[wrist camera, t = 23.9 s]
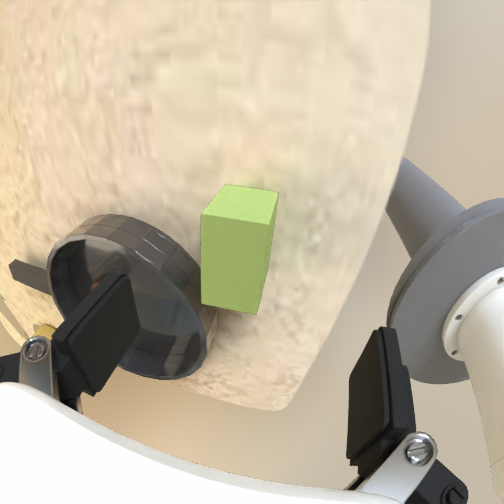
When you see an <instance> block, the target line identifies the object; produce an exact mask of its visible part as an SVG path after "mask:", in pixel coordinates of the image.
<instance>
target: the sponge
mask: <svg viewBox="0 0 504 504" xmlns="http://www.w3.org/2000/svg"><path fill="white" fill-rule="evenodd" d="M278 194H279V192H275V191H269V190H262V189H255V188H249V187H242V186H234V185H227V184H225V185H224V187H223V188H222V189H221V190H220V191H219V193H218V194H217V195H216V196H215V197H214V198H213V200H212V201H211V202H210V203H209V204H208V206H207V207H206V208H205V209H204V210H203V212H202V213H201V303H202V304H206V305H210V306H215V307H220V308H225V309H230V310H234V311H239V312H244V313H250V314H255V315H256V314H257V311H258V307H259V303H260V299H261V295H262V291H263V287H264V283H265V279H266V275H267V271H268V264H269V257H270V251H271V244H272V237H273V230H274V223H275V216H276V209H277V202H278Z"/></svg>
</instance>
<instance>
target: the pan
mask: <svg viewBox="0 0 504 504" xmlns="http://www.w3.org/2000/svg"><path fill="white" fill-rule="evenodd" d="M113 270H115V271H119V272H122V273H126V274H127V276H128V278H129V279H130V280H131V285H132V290H133V295H134V300H135V304H136V309H137V313H138V318H139V322H140V331H139V334H138V335H137V337H136V338H135V340H134V341H133V342H132V344H131V345H130V347H129V348H128V350H127V351H126V353H125V354H124V356H123V357H122V359H121V360H120V362H119V363H118V365H117V366H118V367H121V368H122V369H124V370H126V371H129V372H132V373H135V374H137V375H140V376H143V377H148V378H153V379H159V380H175V379H180V378H183V377H186V376H190V375H192V374H193V373H194V372H195V371H197V370H198V369H199V368H200V367H201V366H202V364H203V362H204V360H205V357H206V355H207V353H208V350H209V347H210V345H211V342H212V339H213V337H214V334H215V332H216V329H217V322H218V308H217V307H215V306H210V305H206V304H202V303H201V269H200V267H199V266H198V264H197V263H196V262H195V261H194V260H193V259H192V257H191V256H190V255H189V254H188V253H187V252H186V251H185V250H184V249H183V248H182V247H181V246H180V245H179V244H178V243H176V242H175V241H174V240H173V239H171V238H170V237H169V236H167V235H166V234H164V233H163V232H161V231H160V230H158V229H157V228H155V227H153V226H151V225H149V224H147V223H145V222H143V221H140V220H137V219H134V218H131V217H127V216H122V215H112V214H109V215H99V216H96V217H92V218H90V219H88V220H86V221H84V222H83V223H82V224H80V225H79V226H77V227H76V228H74V229H73V230H72V231H71V232H69V233H68V234H67V235H66V236H64V237H63V238H62V239H61V240H59V241H58V242H57V243H56V244H55V245H54V247H53V249H52V250H51V252H50V254H49V256H48V262H47V270H46V273H47V279H48V285H49V289H50V292H51V295H52V297H53V300H54V302H55V304H56V306H57V308H58V310H59V311H60V313H61V315H62V316H63V318H64V320H65V319H66V318H67V317H68V316H69V315H70V314H71V313H72V312H73V311H74V309H75V308H76V307H77V306H78V305H79V304H80V303H81V302H82V301H83V300H84V299H85V298H86V297H87V296H88V294H89V293H90V292H91V287H92V285H93V283H94V282H95V281H96V280H97V279H98V278H105V277H106V276H107V275H108V274H109V273H110V272H111V271H113Z"/></svg>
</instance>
